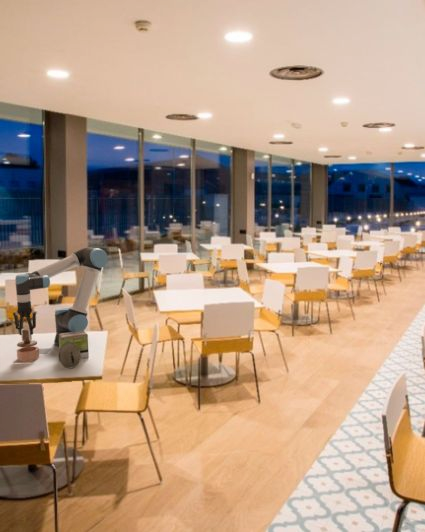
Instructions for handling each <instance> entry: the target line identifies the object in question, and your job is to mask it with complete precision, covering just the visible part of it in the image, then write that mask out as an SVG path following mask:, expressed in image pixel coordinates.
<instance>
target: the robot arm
mask: <svg viewBox="0 0 425 532" xmlns="http://www.w3.org/2000/svg"><path fill="white" fill-rule="evenodd" d="M108 259H109V257H108V254H107V252H106V251H105V250H103V249H102V248H99V247H91V246H86V247H83V248H81V249H79V250H76V251H74V252H72V253H70V255H69V256H66V257H65V258H62V259H60V260H57V261H55V262H53V263H50V264H49V265H46V266H44V267H42V268H39V269H37V270H35V271H32V272H26V273H23V274H18V275H16V276H15V284H14V285H15V290H16V303H17V304H16V305H17V310H16V311H14V312H13V313H12V316H13V317H14V324H15V325H14V326H15V329H16V330H19V336H21V342H22V341H24V338H23V330H24V329H25V328H23V326H24V318H26V320H27V324H28V327H29V328H28V329H29V330H28V332H29V341H33V337H32V335H34V329H35V328H36V327H37V313H38V311H35V310H33V309H32V301H31V300H32V298H31V291H34V290H40V289H46V288H50V285H51V279H50V278H53V277H55V276H57V275H60V274H62V273H64V272H66V271H70V269H73V268H75V267H76V268H79V267H82V268H83V272H82V276H81V279H80V282H79V284H78V288H77V291H76V295H75V298H74V300H73V303H72V304H73V305H72V306H71V307H65V308H64V307H63V308H59V309H55V311H54V320H55V330H56V331H55V332H56V333H55V337H54V341H53V343H54V344H53V345H54V346H56V347H59V334H61V333H69V332H76V331H84V332H85V330H86V329H87V327H88V324H89V321H88V318H87V317H88V311H87V309H88V306H89V303H90V299H91V296H92V293H93V289H94V287H95V283H96V280H97V277H98V274H99V273H101V272H102V269H103V268H104V267H105V266H106V265H107V264H108ZM31 315H32V316H31ZM31 317H32V320H31Z"/></svg>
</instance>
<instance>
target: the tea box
mask: <svg viewBox="0 0 425 532" xmlns="http://www.w3.org/2000/svg"><path fill="white" fill-rule="evenodd" d="M68 341H70V342H74V343H75V344H76V345H77V346H78V348H79V350H80V354H81V358H80V360H82V359H88V358H89V354H90V353H89V336H88V333H87V332H86V331H85V330H84V331H76V332H69V333H61V334H59V346H58V347H59V348H58V349H59V351H60V348H61V346H62V345H63V344H64V343H65V342H68ZM59 351H58V352H59Z"/></svg>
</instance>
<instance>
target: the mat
mask: <svg viewBox="0 0 425 532" xmlns="http://www.w3.org/2000/svg"><path fill="white" fill-rule="evenodd" d="M51 350H52V348H50V347H49V348H39V355H46V354H48V353H49V352H50V351H51Z"/></svg>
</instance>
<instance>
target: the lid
mask: <svg viewBox="0 0 425 532" xmlns="http://www.w3.org/2000/svg"><path fill="white" fill-rule="evenodd" d="M23 329H24V330H23V338H24V341H22V340H21V341H19V342H18V343H17V344H16V346H17V347H18V348H22V347H31V346H36V345H37V344H38V341H37V340H31V341H29V332H28V330H29V328H27V329H25V328H23Z"/></svg>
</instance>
